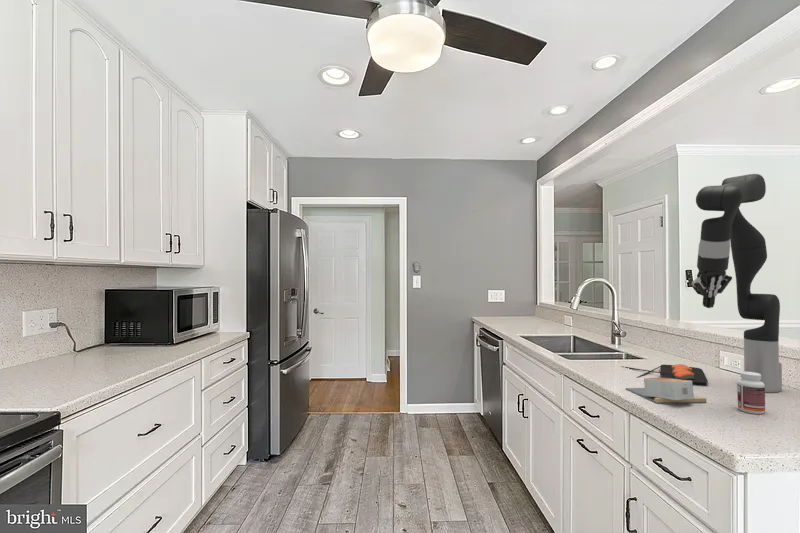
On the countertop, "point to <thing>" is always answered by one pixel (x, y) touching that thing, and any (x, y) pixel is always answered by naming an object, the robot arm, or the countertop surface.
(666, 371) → the sushi plate
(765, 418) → the countertop surface
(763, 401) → the pill bottle
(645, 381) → the small box
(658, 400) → the board
